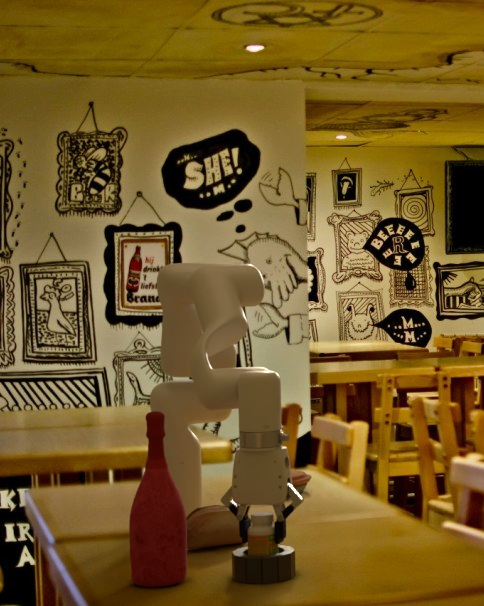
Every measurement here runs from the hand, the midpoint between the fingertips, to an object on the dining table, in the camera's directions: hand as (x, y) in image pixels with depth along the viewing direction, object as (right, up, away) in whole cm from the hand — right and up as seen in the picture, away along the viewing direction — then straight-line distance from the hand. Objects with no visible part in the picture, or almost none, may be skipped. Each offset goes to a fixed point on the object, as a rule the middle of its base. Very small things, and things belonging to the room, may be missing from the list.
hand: (262, 541), depth 220 cm
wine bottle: (-18, -7, -3) cm, 19 cm away
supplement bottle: (0, -5, 0) cm, 5 cm away
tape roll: (0, -6, 0) cm, 6 cm away
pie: (-8, -5, +88) cm, 88 cm away
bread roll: (-13, -6, +26) cm, 30 cm away
